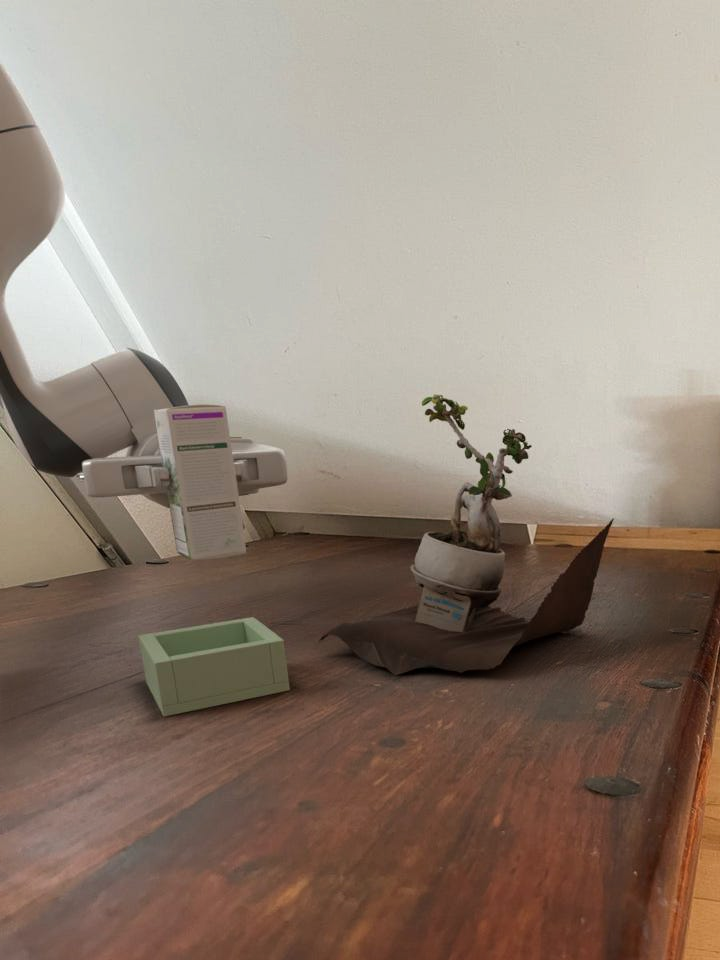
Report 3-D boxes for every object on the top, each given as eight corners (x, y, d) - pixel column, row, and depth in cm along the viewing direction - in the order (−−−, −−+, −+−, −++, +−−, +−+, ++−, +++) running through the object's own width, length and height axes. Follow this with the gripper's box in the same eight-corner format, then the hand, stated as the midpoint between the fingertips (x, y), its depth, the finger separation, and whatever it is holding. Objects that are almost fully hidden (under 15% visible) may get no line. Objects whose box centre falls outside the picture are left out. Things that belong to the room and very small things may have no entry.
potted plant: (430, 631, 88) (488, 410, 81) (572, 696, 79) (650, 454, 72) (303, 647, 71) (363, 371, 65) (464, 732, 62) (552, 421, 56)
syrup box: (248, 553, 78) (229, 403, 74) (188, 561, 75) (165, 405, 71) (231, 547, 82) (212, 405, 78) (174, 554, 79) (151, 407, 75)
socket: (163, 716, 59) (154, 663, 57) (146, 683, 67) (138, 635, 66) (290, 690, 63) (284, 640, 62) (259, 661, 71) (253, 616, 70)
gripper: (70, 445, 81) (78, 446, 70) (263, 437, 91) (298, 436, 79) (80, 506, 83) (90, 516, 71) (269, 491, 93) (305, 498, 81)
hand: (202, 474), depth 75 cm, fingers closed on syrup box, 6 cm apart
